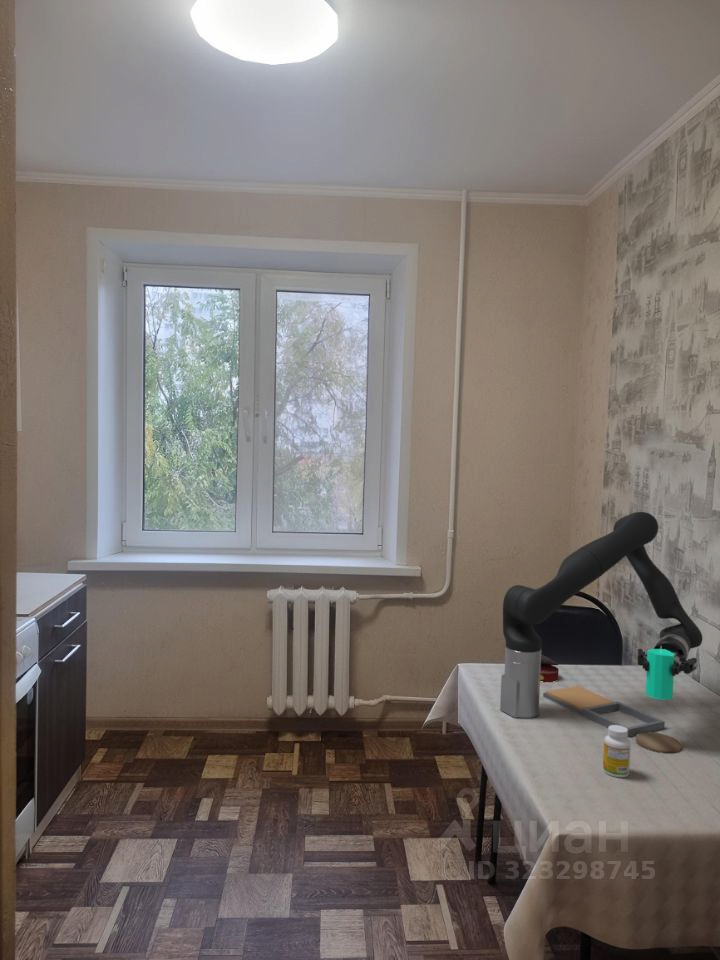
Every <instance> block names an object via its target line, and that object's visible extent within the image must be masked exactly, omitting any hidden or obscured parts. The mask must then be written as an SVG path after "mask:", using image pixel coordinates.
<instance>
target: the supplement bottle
mask: <svg viewBox="0 0 720 960" xmlns="http://www.w3.org/2000/svg"><path fill="white" fill-rule="evenodd" d="M623 726H624V725H623ZM623 726H619V725H611V726H609V727H607V730H608V731H607V735H606V736H605V737H604V740H603V741H604V742H603V757H602V758H603V759H602V761H603V762H602V769H603V772H604V773H605V774H607V775H608V776H610V777H615V778H626V777H628V776H629V775H630V766H631V764H630V763H631V746H632V745H631V740H630V739H629V737H627V736H628V729H627V728H628V727H627V728H625V727H626V726H625V727H623Z"/></svg>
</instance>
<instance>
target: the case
mask: <svg viewBox="0 0 720 960" xmlns="http://www.w3.org/2000/svg"><path fill="white" fill-rule="evenodd" d="M542 696H543V698H545V699H547V700H549V701H551V702H554V703H555V704H558V705H560V706H562V707H564V708H566V709H568V710H570V711H573V712H574V713H577V714H578V715H581V716H583V717H585V718H587V719H589V720H591V721H594V722H596V723H597V724H600V725H601V726H604V727H605V728H608V727H609V726H611V725H619V726H623V727H625V728H627V729H628V736H627V737H626V738H629V736H630V737H633V735H634V736H636V735H637V734H639V733H644V732H650V731H651V732H655V730H656V731H659V730H663V729H664V730H665V724H666V723H665V720H662V719H660V718H658V717H655V716H652V715H650V714H648V713H647V712H646V713H645V712H643V711H641V710H639V709H637V708H634V707H632V706H629V705H627V704H625V703H622V702H620V701H614V700H612V699H609V698H608V697H605V696H602V695H600V694H598V693H595V692H593V691H592V690H588V689H586V688H584V687H581V686H579V685H573V686H569V687H562V688H557V689H552V690H546V691H545V692H543V694H542ZM614 711H619V712H622V713H624V714H626V715H629V716H631V717H633V718H635V719H638V720H640V721H642V722H644V723H642V724H639V725H638V724H637V725H633V726H628V727H627V726H626V725H623V724H621V723H619V722H616V721H615V720H612V719H610V718H608V717H606V716H604V715H601V714H605V713H611V712H614Z"/></svg>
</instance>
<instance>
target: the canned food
mask: <svg viewBox="0 0 720 960" xmlns="http://www.w3.org/2000/svg"><path fill="white" fill-rule="evenodd" d="M557 666H559V663H558V662H556V661H555V660H553V659H551V658H549V657H548V656H544V654H541V670H540V681H543V682H542V683H545V682H549V683H554V682H553V681H555V682H557V681H558V680H559V668H558V667H557ZM556 680H557V681H556Z"/></svg>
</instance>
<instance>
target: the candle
mask: <svg viewBox="0 0 720 960" xmlns="http://www.w3.org/2000/svg"><path fill="white" fill-rule="evenodd" d="M646 653H647V661H648V662H649V667H648V671H646V675H645V676H646V680H645V695H646V696H647V697H650V698H652V699H656V700H662V701H663V700H664V701H666V700H668V701H669V700H672V699H673V696H674V694H673V693H674V677H675V676H672V666H673V664H674V653H671V652H670V651H668V650H666V649H654V648H651V649H649V650H647V652H646Z"/></svg>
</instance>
